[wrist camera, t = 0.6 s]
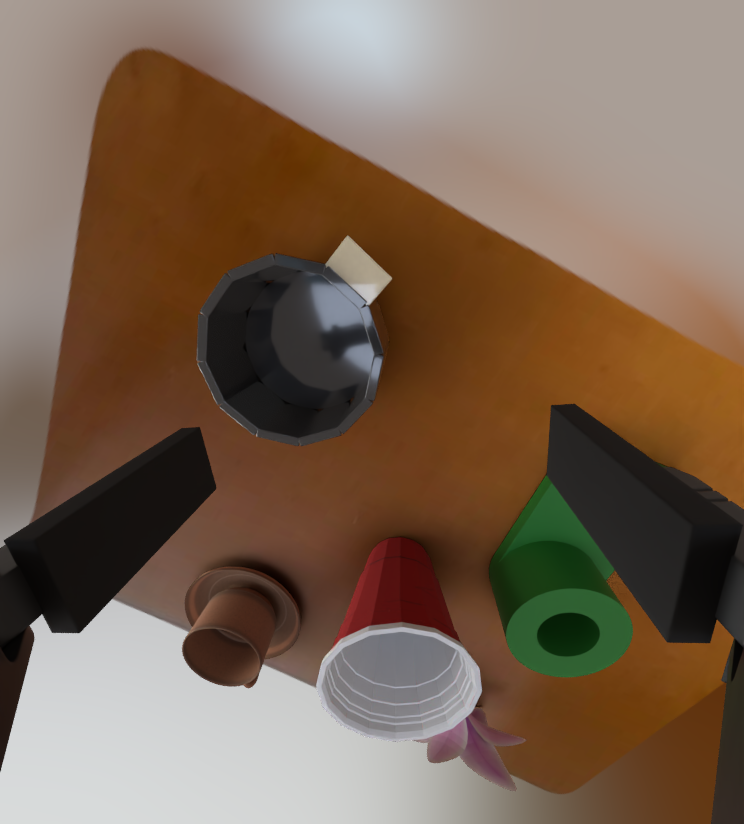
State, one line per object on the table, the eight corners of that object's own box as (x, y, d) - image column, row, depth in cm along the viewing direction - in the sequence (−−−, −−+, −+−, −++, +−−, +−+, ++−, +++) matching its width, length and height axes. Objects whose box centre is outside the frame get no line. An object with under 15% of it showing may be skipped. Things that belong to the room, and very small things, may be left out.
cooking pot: (323, 439, 29) (303, 475, 24) (214, 347, 27) (164, 363, 22) (436, 319, 25) (444, 328, 20) (317, 203, 24) (287, 177, 18)
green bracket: (557, 621, 35) (588, 691, 29) (472, 588, 35) (485, 652, 28) (678, 471, 29) (749, 520, 23) (575, 429, 28) (621, 468, 22)
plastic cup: (453, 609, 36) (474, 759, 24) (346, 599, 37) (318, 739, 25) (465, 517, 32) (496, 642, 21) (345, 508, 33) (312, 624, 22)
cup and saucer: (328, 619, 38) (313, 679, 32) (245, 656, 41) (218, 717, 35) (255, 537, 35) (224, 586, 29) (172, 584, 38) (130, 637, 32)
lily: (376, 655, 40) (374, 777, 34) (440, 640, 32) (453, 794, 26) (460, 663, 44) (473, 773, 38) (534, 652, 37) (566, 788, 30)
